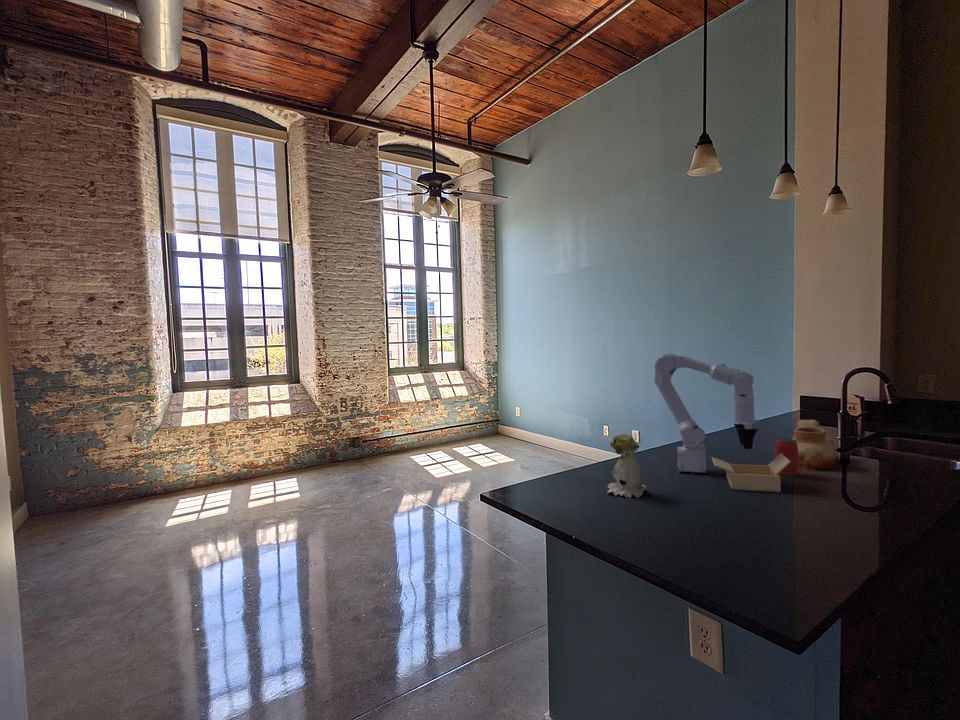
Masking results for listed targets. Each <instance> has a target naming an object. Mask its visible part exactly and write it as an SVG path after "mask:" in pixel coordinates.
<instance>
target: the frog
mask: <svg viewBox="0 0 960 720" xmlns="http://www.w3.org/2000/svg"><path fill="white" fill-rule="evenodd" d="M609 445H610V446H611V447H610V448H613V450H615V453H616V454H617V455H619V456H620V457H619V458H618V460H617V462H616V464H615V465H614V467H613V469H612V470H611V474H612V477H613V478H614V479H615V482H610V483H609V484H607V488H608V489H606V491H607V494H609V493H612V494H613V495H614V497H616V496H617V495H620V496H621V497H623V496H624V497H625V498H626V499H628V498H627V497H629V499H630V498H632V497H633V496H634V497H635V498H640V497H641V496H642V495H643V494H644V491H645V490H646V489H647V487H646V485H644V484H642V481H641V469H640V466H639V463H638V461H637V459H636V458H635V456H634V455H633V454H634V453H636V452H637V451H638V449H639V448H640V445H639V443H638V442H637V441H636V440H635V439H634V437H633V436H631V435H629V434H627V433H625V434H618V435H616V436H614V437H613V440H612V441H610V442H609Z"/></svg>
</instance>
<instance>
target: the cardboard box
mask: <svg viewBox="0 0 960 720" xmlns="http://www.w3.org/2000/svg"><path fill="white" fill-rule="evenodd" d="M730 465H731V467H732V469H733V471H734V473H733V472H730V471H727V470H725V473H726V474H725V475H726V479H728V480H727V482H728V485H729V484H730V485H729V486H731V487H730V489H731V490H732V489H734V490H733V491H735V490H736V491H748V492H749V491H750V492H767V493H782V490H781V489H782V488H781V487H782V485H781V475H779V474H777V475H776V474H775V473H774V471H773V470H772V469H771V468H770V467H769V466H768V464H767V465H764V464H763V465H761V464H741V463H740V464H738V463H730Z"/></svg>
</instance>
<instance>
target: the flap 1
mask: <svg viewBox="0 0 960 720" xmlns="http://www.w3.org/2000/svg"><path fill="white" fill-rule="evenodd" d="M711 461H712V463H713V465H714V467H716V468H720V469H722V470H724V471H726V470H727V471H730V472H733V473H734V471H733V469H732V467H731V465H730V464H731V463H729V462H727V461H725V460H722V459H719V458H717V457H713V456H711Z"/></svg>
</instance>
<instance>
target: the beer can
mask: <svg viewBox="0 0 960 720" xmlns="http://www.w3.org/2000/svg"><path fill="white" fill-rule="evenodd" d="M774 452H775V453H774V454H775V457H774V458H776V457H777V456H778V455H779V454H780V453H782V454H783V455H784V456H785V457H786V458H787V459H788V460H789V461H790V462H791V463H789V464H788V465H787V466H786V467H785V468H784V469H783V470H781V471H780V472H779V473H778V474H780V476H782V475H783V477H797V476H799V474H800V468H799V460H798V445H797V443H796V440H794V439H792V438H786V437H785V438H784V437H781V438H776V442H775V444H774Z"/></svg>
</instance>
